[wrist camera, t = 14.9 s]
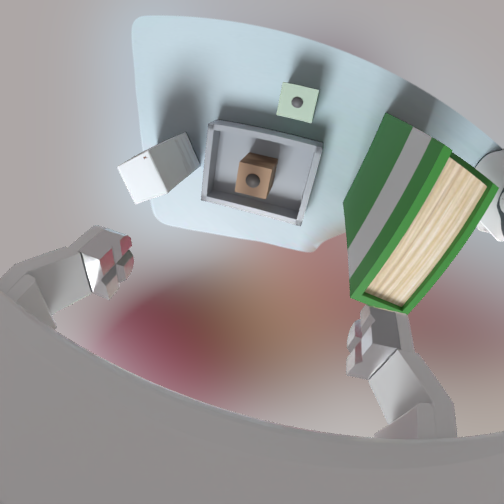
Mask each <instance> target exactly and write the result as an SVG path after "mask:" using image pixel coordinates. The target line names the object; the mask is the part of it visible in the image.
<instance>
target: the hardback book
mask: <svg viewBox="0 0 504 504" xmlns="http://www.w3.org/2000/svg"><path fill="white" fill-rule="evenodd" d="M498 189H499V187H497V186H496V185H495V184H494V183H493V182H492V181H490V180H489V179H488V178H487V177H485V176H484V175H483V174H482V173H480V172H479V171H478V170H476V169H475V168H474V167H472V166H471V165H470V164H468V163H467V162H465V161H464V160H463V159H461V158H460V157H458V156H457V155H455V154H454V153H452V150H451V149H450V148H448V147H447V146H445V145H444V144H442V143H441V142H439V141H437V140H436V139H434V138H432V137H431V136H429V135H427V134H426V133H424V132H422V131H420V130H418V129H417V128H415V127H413V126H411V125H409V124H407V123H405V122H403V121H402V120H400V119H398V118H396V117H394V116H392V115H389V114H387V113H385V115H384V117H383V120H382V122H381V124H380V126H379V129H378V131H377V133H376V135H375V138H374V140H373V142H372V144H371V146H370V148H369V150H368V153H367V155H366V157H365V159H364V161H363V163H362V165H361V167H360V169H359V171H358V174H357V176H356V178H355V180H354V182H353V184H352V186H351V188H350V190H349V192H348V194H347V196H346V198H345V200H344V202H343V206H344V215H345V225H346V236H347V249H348V263H349V282H350V298H352V299H355V300H357V301H360V302H363V303H365V304H368V305H371V306H375V307H379V308H383V309H387V310H391V311H396V312H400V313H405V314H407V315H408V314H409V313H410V311H411V310H412V309H413V308H414V307H415V306H416V305H417V304H418V303H419V301H420V300H421V299H422V298H423V297H424V296H425V295H426V293H427V292H428V291H429V290H430V289H431V287H432V286H433V285H434V284H435V282H436V281H437V280H438V279H439V278H440V276H441V275H442V274H443V272H444V271H445V270H446V269H447V267H448V266H449V265H450V263H451V262H452V261H453V259H454V258H455V257H456V255H457V254H458V253H459V251H460V250H461V248H462V247H463V246H464V244H465V243H466V241H467V240H468V238H469V237H470V235H471V234H472V232H473V231H474V229H475V228H476V226H477V225H478V223H479V222H480V220H481V219H482V217H483V215H484V214H485V212H486V210H487V209H488V207H489V205H490V204H491V202H492V200H493V198H494V197H495V195H496V193H497V191H498Z"/></svg>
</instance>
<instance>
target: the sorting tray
mask: <svg viewBox="0 0 504 504" xmlns="http://www.w3.org/2000/svg"><path fill="white" fill-rule="evenodd" d="M322 149H323V143H322V142H318V141H315V140H311V139H307V138H304V137H300V136H296V135H292V134H288V133H283V132H279V131H275V130H270V129H265V128H261V127H256V126H251V125H246V124H240V123H235V122H229V121H223V120H215V121H213V122H210V123H209V124H208V133H207V141H206V151H205V160H204V171H203V182H202V193H201V200H202V201H207V202H211V203H215V204H219V205H223V206H227V207H231V208H234V209H238V210H242V211H246V212H250V213H254V214H257V215H261V216H265V217H269V218H272V219H276V220H280V221H283V222H287V223H291V224H294V225H298V226H301V224H302V221H303V217H304V214H305V211H306V207H307V204H308V200H309V197H310V193H311V190H312V186H313V183H314V179H315V175H316V172H317V168H318V164H319V161H320V157H321V153H322ZM249 152H251V153H255V154H260V155H264V156H268V157H272V158H277V159H278V163H277V168H276V173H275V177H274V182H273V186H272V188H271V190H270V192H269V194H268V196H267V198H266V199H262V198H258V197H254V196H250V195H246V194H242V193H238V192H235V187H236V180H237V173H238V167H239V162H240V161H241V160H242V159H243V158H244V157H245V156H246V155H247V154H248V153H249Z"/></svg>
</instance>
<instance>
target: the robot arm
mask: <svg viewBox="0 0 504 504" xmlns="http://www.w3.org/2000/svg"><path fill="white" fill-rule="evenodd" d="M475 169H476V170H478V171H479V172H480V173H482V174H483V175H484V176H485V177H487V178H488V179H489V180H490V181H492V182H493V183H494V184H495V185H496V186H497V187H499V189H498V191H497V193H496V195H495V197H494V198H493V200H492V202H491V204H490V205H489V207H488V209H487V210H486V212H485V214H484V215H483V217H482V219H481V220H480V222H479V223H478V225H477V226H476V227H477V229H479V230H480V231H483V232H488V233H491V234H492V235H493V236H494V238H495V239H496V240H498V241H503V242H504V149H503V150H501V151H496V152H492V153H490V154H488V155H486V156H485V157H484V158H483V159H482V160H481V161H480V162H479V163H478V165H477V166H476V168H475ZM131 246H132V242H131V238H130V237H129V236H128V235H125V234H123V233H120V232H117V231H114V230H111V229H108V228H105V227H102V226H99V225H95V226H93V227H91V228H90V229H89V230H88V231H87V232H86V233H84V234H83V235H82V236H81V237H79V238H78V239H77V240H76V241H75V242H74V243H73V244H71V245H70V246H69V247H68V248H67V247H63V248H60V249H56V250H54V251H50V252H48V253H45V254H42V255H39V256H36V257H33V258H30V259H28V260H25V261H22V262H19V263H17V264H14V266H13V267H11V268H10V269H9V270H8V271H7V272H6V273H5V274H4V275H3V276H2V277H1V278H0V504H504V431H502V432H496V433H490V434H483V435H476V436H467V437H457V428H456V418H455V410H454V403H453V402H452V401H451V399H450V397H449V396H448V394H447V393H446V392H445V390H444V389H443V387H442V386H441V384H440V383H439V381H438V380H437V378H436V377H435V376H434V374H433V373H432V371H431V370H430V369H429V367H428V366H427V364H426V363H425V362H424V360H423V359H422V358H421V356H420V355H419V353H415V350H414V345H413V339H412V334H411V329H410V324H409V319H408V316H407V314H405V313H400V312H396V311H391V310H387V309H383V308H379V307H375V306H371V305H366V306H364V307H363V309H362V311H361V313H360V317H361V319H359V320H357V321H355V322H354V323H353V325H352V327H351V329H350V332H349V335H348V340H347V349H348V350H349V352H350V355H349V356H348V357H347V363H346V366H347V367H346V375H347V376H352V377H357V378H362V379H366V380H369V381H368V382H369V384H370V386H371V388H372V390H373V392H374V395H375V397H376V399H377V401H378V403H379V405H380V408H381V410H382V412H383V414H384V416H385V419H386V421H387V423H388V425H387V426H385V427H384V428H382V429H381V430H379V431H378V432H376V433H375V434H374V438H371V437H359V436H350V435H341V434H333V433H326V432H320V431H314V430H308V429H303V428H297V427H292V426H287V425H283V424H278V423H274V422H270V421H266V420H261V419H258V418H254V417H250V416H246V415H243V414H239V413H236V412H232V411H229V410H226V409H222V408H219V407H216V406H213V405H210V404H207V403H204V402H201V401H199V400H196V399H193V398H190V397H187V396H185V395H182V394H179V393H177V392H175V391H172V390H170V389H167V388H165V387H162V386H160V385H157V384H155V383H153V382H150V381H148V380H146V379H144V378H142V377H139V376H137V375H135V374H133V373H131V372H129V371H127V370H124V369H123V368H121V367H119V366H117V365H115V364H113V363H111V362H109V361H107V360H105V359H103V358H101V357H99V356H97V355H96V354H94V353H92V352H90V351H89V350H87V349H85V348H83V347H82V346H80V345H78V344H77V343H75V342H73V341H72V340H70V339H68V338H67V337H65V336H63V335H62V334H60V333H59V332H57V331H56V330H55V329H56V327H57V326H56V322H55V321H54V319H53V317H52V315H53V314H55V313H57V312H59V311H60V310H62V309H64V308H66V307H68V306H70V305H72V304H73V303H75V302H77V301H79V300H81V299H83V298H84V297H87V296H88V295H90V294H91V292H92V293H94V294H96V295H99V296H101V297H103V298H106V299H108V300H110V299H111V298H112V296H113V295H114V294H115V293H116V292H117V290H118V289H119V283H120V282H122V281H125V280H127V278H128V277H129V276H130V274H131V272H132V269H133V265H134V258H133V255H132V253H131V251H130V250H129V249H130V248H131Z"/></svg>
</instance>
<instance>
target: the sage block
mask: <svg viewBox="0 0 504 504" xmlns="http://www.w3.org/2000/svg"><path fill="white" fill-rule="evenodd" d="M318 94H319V90H318V89H314V88H310V87H305V86H301V85H297V84H292V83H286V82H283V84H282V89H281V94H280V99H279V104H278V109H277V114H276V115H278V116H283V117H287V118H292V119H296V120H300V121H304V122H308V123H312V120H313V116H314V111H315V107H316V103H317V98H318Z"/></svg>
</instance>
